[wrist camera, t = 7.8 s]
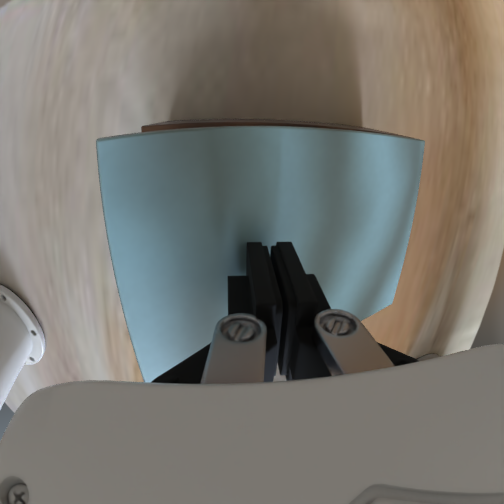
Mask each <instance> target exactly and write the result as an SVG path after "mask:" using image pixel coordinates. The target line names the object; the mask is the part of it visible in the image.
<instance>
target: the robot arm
mask: <svg viewBox="0 0 504 504" xmlns="http://www.w3.org/2000/svg"><path fill="white" fill-rule="evenodd" d="M44 351H45V338H44V334H43V332H42V329H41V327H40V325H39V323H38V321H37V319H36V318H35V316H34V315H33V313H32V312H31V310H30V309H29V308H28V307H27V306H26V304H25V303H24V302H23V301H22V300H21V299H20V298H19V297H18V296H17V295H15V294H14V293H13V292H12V291H10V290H9V289H7V288H6V287H4V286H2V285H0V409H1V407H2V405H3V403H4V401H5V399H6V397H7V395H8V393H9V391H10V389H11V387H12V385H13V383H14V381H15V380H16V378H17V376H18V374H19V372H20V370H21V369H22V367H23V365H24V364H26V365H30V364H35V363H37V362H38V361H39V360H40V359H41V358H42V356H43V354H44ZM277 363H278V368H279V373H280V375H285V376H286V381H276V382H273V380H274V376H276V370H277ZM0 504H504V344H494V345H487V346H482V347H478V348H474V349H469V350H465V351H461V352H457V353H453V354H449V355H445V356H441V357H437V358H433V359H428V360H424V361H418V360H416V359H415V358H412V357H410V356H408V355H405V354H403V353H401V352H398V351H396V350H394V349H391V348H389V347H387V346H384V345H382V344H380V343H377V342H376V341H375V339H374V338H373V337H372V335H371V334H370V333H369V332H368V330H367V329H366V328H365V326H364V325H363V324H362V323H361V321H360V320H359V319H358V318H357V317H356V316H355V315H353V314H352V313H350V312H348V311H344V310H340V309H331V307H330V305H329V303H328V301H327V299H326V297H325V295H324V293H323V291H322V288H321V286H320V284H319V282H318V280H317V278H316V276H315V275H314V274H306V273H305V271H304V268H303V266H302V264H301V262H300V259H299V257H298V255H297V253H296V251H295V248H294V246H293V244H292V242H277V243H276V246H271V252H270V254H269V250H268V247H267V246H262V242H247V250H246V275H242V276H228V315H227V316H225V317H223V318H222V319H221V320H219V321H218V323H217V325H216V326H215V330H214V334H213V338H212V341H211V343H210V344H208V345H207V346H205V347H204V348H202V349H201V350H199V351H198V352H196V353H194V354H193V355H191V356H190V357H188V358H187V359H185V360H184V361H182V362H180V363H179V364H177V365H176V366H174V367H172V368H171V369H169V370H168V371H166V372H165V373H163V374H161V375H160V376H158V377H156V378H155V379H154V380H153V381H152V382H151V383H150V382H125V381H96V380H88V381H75V382H67V383H62V384H56V385H52V386H48V387H45V388H42V389H40V390H37V391H36V392H34V393H32V394H31V395H30V396H29V397H27V398H26V399H25V400H24V402H23V403H22V404H21V405H20V407H19V408H18V409H17V411H16V412H15V414H14V416H13V417H12V419H11V421H10V423H9V424H8V426H7V428H6V431H5V432H4V435H3V437H2V439H1V441H0Z"/></svg>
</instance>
